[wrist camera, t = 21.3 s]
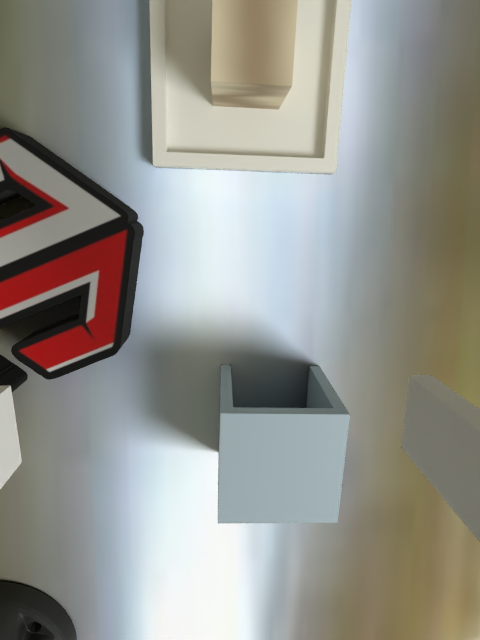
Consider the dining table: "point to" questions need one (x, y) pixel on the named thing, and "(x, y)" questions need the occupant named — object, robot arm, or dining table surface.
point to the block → (252, 52)
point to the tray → (246, 123)
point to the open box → (282, 457)
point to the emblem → (63, 261)
